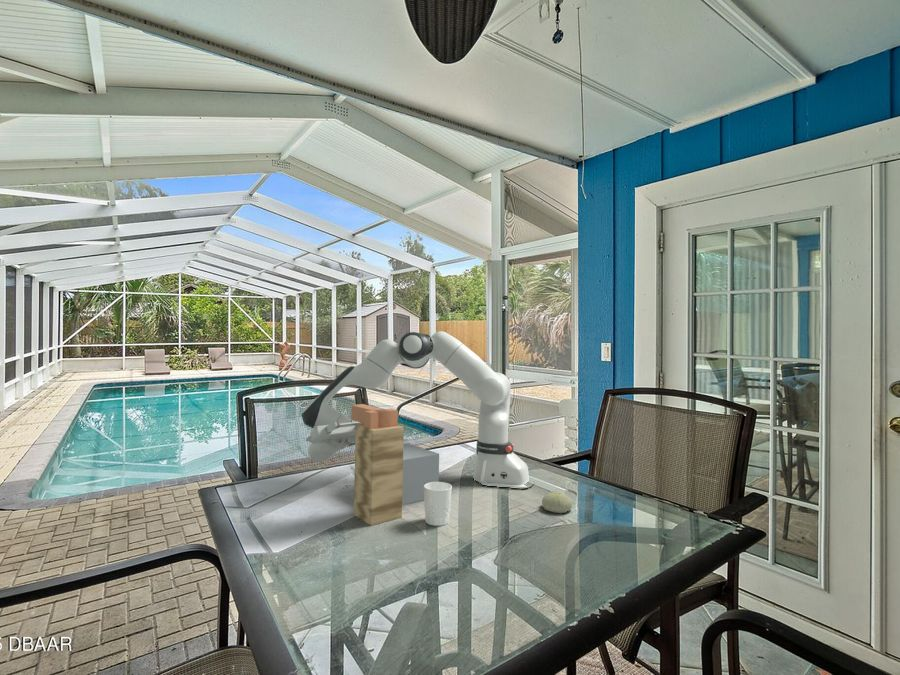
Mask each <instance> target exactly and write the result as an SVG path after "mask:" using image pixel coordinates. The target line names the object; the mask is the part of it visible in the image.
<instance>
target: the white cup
mask: <svg viewBox="0 0 900 675" xmlns="http://www.w3.org/2000/svg"><path fill="white" fill-rule="evenodd" d="M452 490H453V486H452V484H450V483H448V482H443V481H439V482H430V483H427V484H425V485H424V500H423V504H424V521H425V523H426V524H427V525H430V526H434V527H440V526H445V525H448V524H449V522H450V518H451V517H450V516H451V515H450V513H451V506H452V505H451V504H452V495H453V494H452V492H453V491H452Z"/></svg>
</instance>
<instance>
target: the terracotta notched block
mask: <svg viewBox="0 0 900 675" xmlns="http://www.w3.org/2000/svg"><path fill="white" fill-rule="evenodd" d="M350 415H351V417H350V419H351V420H352V421H353V422H360V423H363V424H364V427H366V428H369V429H375V428H383V427H392V426H398V425H399V423H398V421H399V410H398V409H394V408H380V407H376V406H373V405H367V404H365V403H361V404H351V414H350Z"/></svg>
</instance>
